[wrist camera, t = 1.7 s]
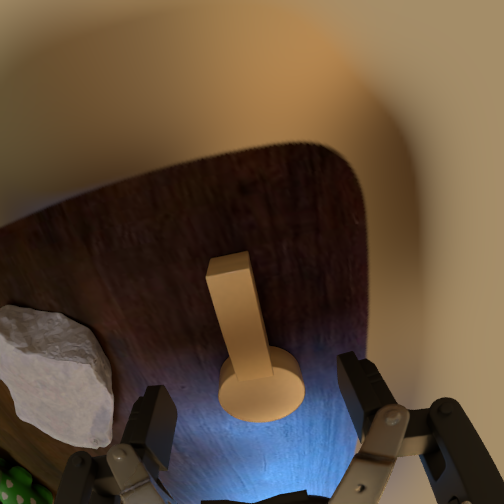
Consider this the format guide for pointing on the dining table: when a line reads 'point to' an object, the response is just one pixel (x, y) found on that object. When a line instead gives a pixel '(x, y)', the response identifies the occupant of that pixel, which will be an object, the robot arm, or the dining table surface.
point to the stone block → (57, 376)
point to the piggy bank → (20, 487)
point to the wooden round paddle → (250, 348)
